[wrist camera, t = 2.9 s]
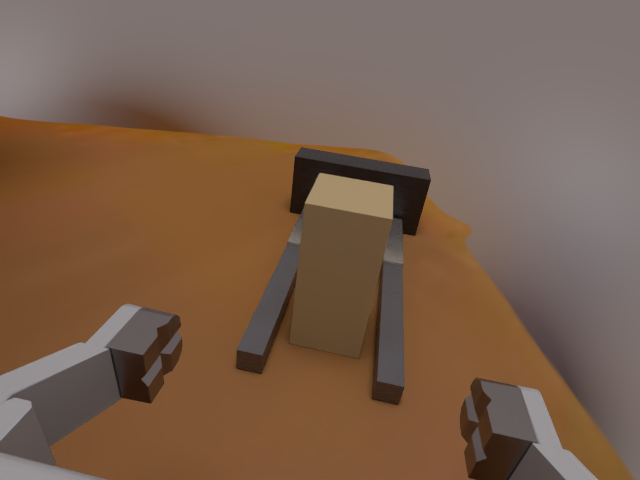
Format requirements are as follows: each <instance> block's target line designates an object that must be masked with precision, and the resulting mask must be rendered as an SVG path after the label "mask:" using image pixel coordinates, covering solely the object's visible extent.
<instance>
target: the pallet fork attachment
mask: <svg viewBox="0 0 640 480" xmlns="http://www.w3.org/2000/svg"><path fill="white" fill-rule="evenodd" d="M319 173H324V174H330V175H335V176H341V177H346V178H352V179H358V180H363V181H369V182H375V183H380V184H386V185H391V186H393V220H392V225H391V229H390V233H389V237H388V241H387V245H386V249H385V253H384V257H383V261H382V265H381V270H380V285H379V300H378V315H377V330H376V346H375V361H374V376H373V391H372V399H376V400H380V401H385V402H389V403H394V404H399V401H400V398H401V396H402V393H403V390H404V337H403V286H402V266H403V233H405V234H410V235H415V234H416V230H417V227H418V223H419V220H420V216H421V213H422V209H423V206H424V202H425V199H426V195H427V192H428V188H429V185H430V181H431V178H430V174H429V170H428V169H423V168H418V167H412V166H406V165H401V164H395V163H389V162H383V161H377V160H372V159H366V158H360V157H354V156H349V155H343V154H337V153H331V152H325V151H320V150H314V149H308V148H302V147H301V149H300V150H299V152H298V153H297V154H296V156H295V162H294V173H293V184H292V196H291V207H290V212H294V213H299V214H301V215H300V217H299V219H298V221H297V223H296V225H295V227H294V229H293V231H292V233H291V235H290V237H289V239H288V241H287V247H286V249H285V251H284V253H283V255H282V257H281V259H280V261H279V263H278V265H277V267H276V269H275V271H274V274H273V276H272V278H271V280H270V282H269V284H268V286H267V288H266V290H265V292H264V294H263V296H262V299H261V301H260V303H259V305H258V307H257V309H256V311H255V313H254V315H253V317H252V319H251V321H250V323H249V326H248V328H247V330H246V332H245V334H244V336H243V338H242V340H241V342H240V344H239V346H238V348H237V368H239V369H243V370H248V371H252V372H257V373H262V371H263V368H264V365H265V363H266V360H267V357H268V355H269V352H270V349H271V347H272V344H273V342H274V339H275V336H276V334H277V331H278V328H279V326H280V323H281V321H282V318H283V315H284V313H285V310H286V307H287V305H288V302H289V300H290V297H291V294H292V292H293V289H294V286H295V284H296V278H297V269H298V260H299V250H300V241H301V232H302V223H303V214H304V205H305V202H306V200H307V198H308V196H309V193H310V191H311V189H312V187H313V185H314V183H315V181H316V179H317V177H318V175H319Z"/></svg>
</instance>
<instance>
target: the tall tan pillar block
mask: <svg viewBox="0 0 640 480" xmlns="http://www.w3.org/2000/svg"><path fill="white" fill-rule="evenodd" d="M392 220H393V186H391V185H386V184H380V183H375V182H369V181H363V180H358V179H352V178H346V177H341V176H335V175H330V174H324V173H319V175H318V177H317V179H316V181H315V183H314V185H313V187H312V189H311V191H310V193H309V196H308V198H307V200H306V202H305V205H304V214H303V223H302V232H301V241H300V250H299V260H298V269H297V278H296V287H295V296H294V305H293V314H292V323H291V332H290V341H289V344H293V345H298V346H302V347H307V348H312V349H316V350H321V351H325V352H330V353H334V354H339V355H344V356H348V357H353V358H357V359H359V355H360V351H361V347H362V343H363V339H364V335H365V331H366V327H367V322H368V318H369V314H370V310H371V306H372V302H373V298H374V294H375V290H376V286H377V282H378V278H379V274H380V269H381V265H382V261H383V257H384V253H385V249H386V245H387V241H388V237H389V233H390V229H391V225H392Z"/></svg>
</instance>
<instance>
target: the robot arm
mask: <svg viewBox="0 0 640 480" xmlns="http://www.w3.org/2000/svg"><path fill="white" fill-rule="evenodd" d="M180 326H181V323H180V317H179V316H177V315H175V314H171V313H166V312H162V311H158V310H154V309H149V308H145V307H139V306H135V305H131V304H125V305H123V306H121V307H120V308H119V309H118V310H117V311H116V312H115V313H114V314H113V315H112V316H111V317H110V318H109V319H108V320H107V322H106V323H105V324H104V325H103V326H102V327H101V328H100V329H99V330H98V331H97V332H96V333H95V334H94V335H93V336H92V337H91V338H90V339H89V340H88V341H87V342H86V343H81V342H79V343H77V344H75V345H72V346H70V347H68V348H65V349H63V350H60V351H58V352H56V353H53V354H51V355H48V356H46V357H44V358H41V359H39V360H36V361H34V362H32V363H29V364H27V365H25V366H22V367H20V368H17V369H15V370H13V371H10V372H8V373H5V374H3V375H1V376H0V480H107V479H103V478H99V477H95V476H92V475H88V474H84V473H80V472H76V471H72V470H68V469H64V468H60V467H56V461H55V459H54V456H53V454H52V451H51V449H50V446H52V445H53V444H55V443H56V442H58V441H59V440H61V439H62V438H64V437H65V436H67V435H68V434H70V433H71V432H73V431H74V430H75V429H77V428H78V427H80V426H81V425H83V424H84V423H86V422H87V421H89V420H90V419H92V418H93V417H95V416H96V415H98V414H99V413H101V412H102V411H104V410H105V409H107V408H108V407H110V406H111V405H113V404H114V403H116V402H117V401H119V400H120V399H121V398H126V399H130V400H135V401H140V402H145V403H150V404H151V403H152V401H153V400H154V398H155V397H156V395H157V394H158V392H159V391H160V389H161V388H162V386H163V385H164V378H163V376H164V375H165V374H167V373H169V372H171V371H173V369H174V367H175V366H176V364H177V362H178V360H179V357H180V354H181V351H182V337H181V336H180V335H179V333H178V332H177V330H178V329H179V328H180ZM470 389H471V394H472V395H471V396H469V397H467V398H465V400H464V402H463V405H462V407H461V414H460V429H461V435H462V437H463V438H464V439H465V440H466V442H467V443H468V445H467V447H466V449H465V451H464V455H465V461H466V467H467V473H468V478H471V479H475V480H598V479H597V478H596V477H595V476H594V475H593V474H592V473H591V472H590V471H589V470H588V469H587V468H586V467H585V466H584V465H583V464H582V463H581V462H580V461H579V460H578V459H577V458H576V457H575V456H574V455H573V454H572V453H571V452H570V451H568V450H564V449H563V448H562V446H561V443H560V441H559V438H558V435H557V433H556V430H555V428H554V425H553V423H552V420H551V418H550V415H549V413H548V410H547V408H546V405H545V403H544V400H543V398H542V395H541V393H540V392H539V391H538V390H537V389H532V388H527V387H522V386H515V385H512V384H507V383H502V382H497V381H492V380H487V379H482V378H476V379H474V380H473V382H472V384H471V386H470ZM120 397H121V398H120Z"/></svg>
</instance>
